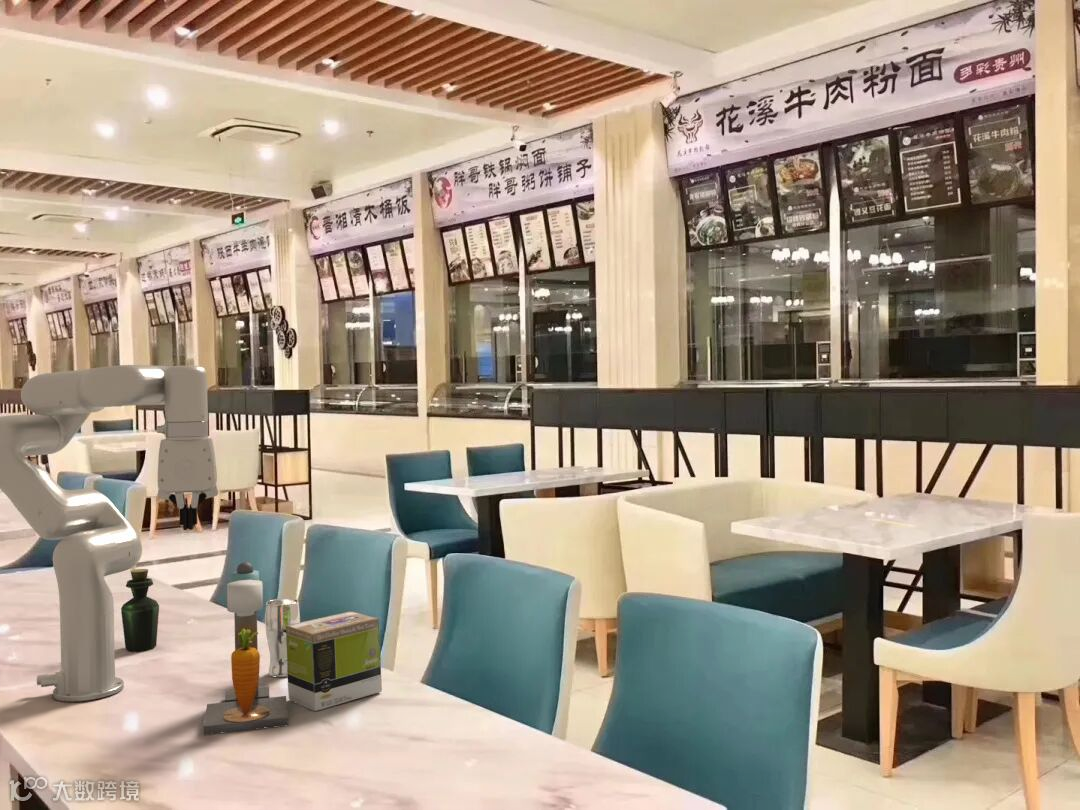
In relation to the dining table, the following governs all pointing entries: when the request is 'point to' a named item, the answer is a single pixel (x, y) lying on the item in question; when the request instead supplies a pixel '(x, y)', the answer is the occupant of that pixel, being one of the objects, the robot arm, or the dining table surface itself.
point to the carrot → (245, 670)
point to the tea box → (333, 660)
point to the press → (262, 708)
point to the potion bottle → (140, 614)
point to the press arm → (244, 591)
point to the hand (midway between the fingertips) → (188, 528)
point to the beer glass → (279, 631)
